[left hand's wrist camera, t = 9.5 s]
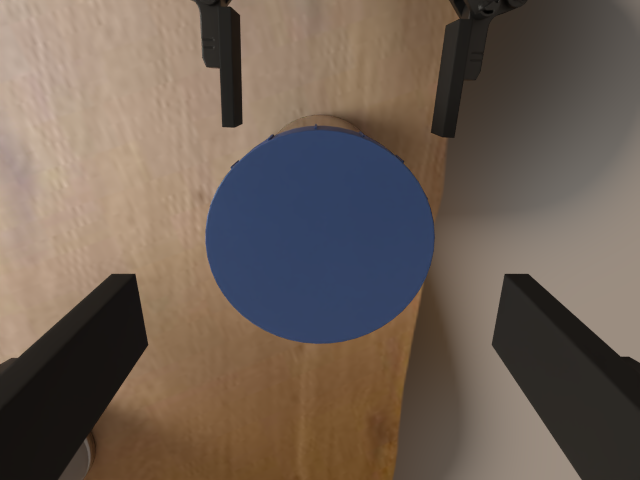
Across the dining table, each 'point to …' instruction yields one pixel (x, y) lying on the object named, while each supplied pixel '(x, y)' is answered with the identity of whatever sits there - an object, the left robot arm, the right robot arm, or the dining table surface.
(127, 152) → the dining table surface
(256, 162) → the lid
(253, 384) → the dining table surface
